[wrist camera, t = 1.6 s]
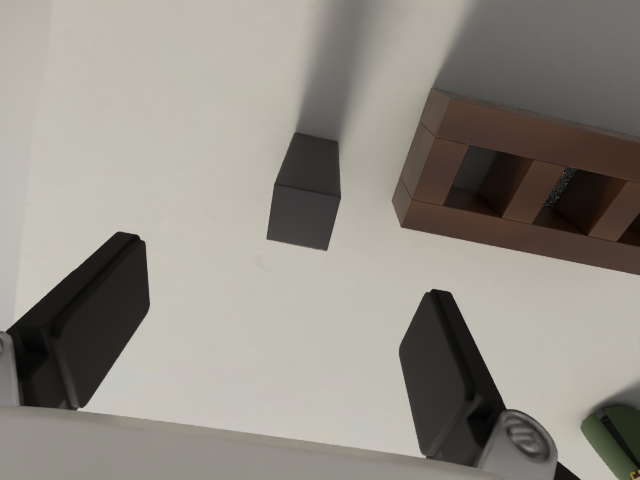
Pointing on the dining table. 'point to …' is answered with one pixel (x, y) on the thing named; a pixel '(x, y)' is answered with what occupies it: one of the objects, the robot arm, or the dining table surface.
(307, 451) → the robot arm
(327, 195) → the peg
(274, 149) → the dining table surface
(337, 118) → the dining table surface
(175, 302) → the dining table surface
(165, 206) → the dining table surface
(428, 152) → the holder
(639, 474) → the character mug
